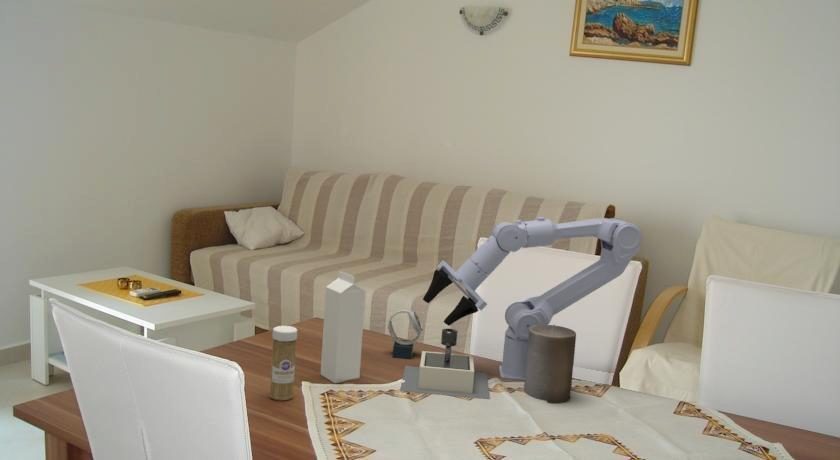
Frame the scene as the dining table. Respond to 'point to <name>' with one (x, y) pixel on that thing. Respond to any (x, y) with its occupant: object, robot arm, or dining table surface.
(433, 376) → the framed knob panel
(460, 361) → the plunger
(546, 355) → the pillar candle
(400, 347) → the watch
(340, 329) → the milk
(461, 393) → the slate mat
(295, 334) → the sprinkles bottle
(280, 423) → the dining table surface
